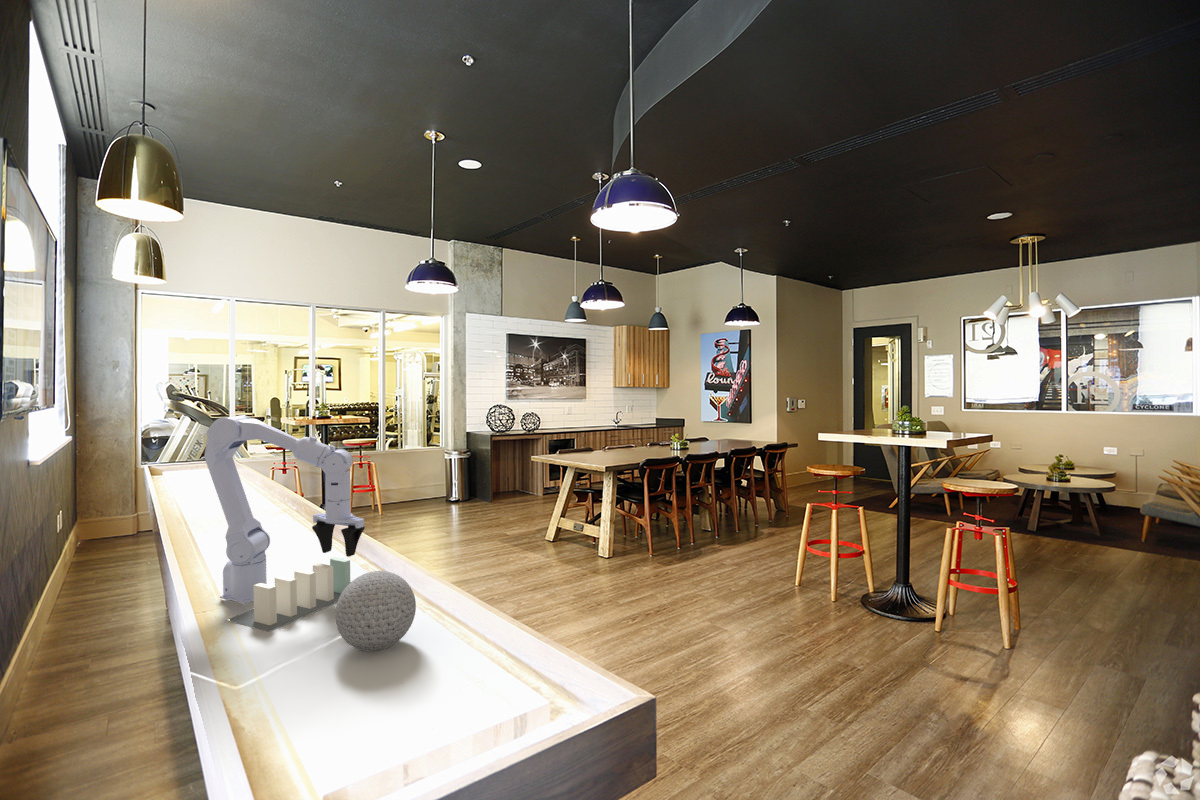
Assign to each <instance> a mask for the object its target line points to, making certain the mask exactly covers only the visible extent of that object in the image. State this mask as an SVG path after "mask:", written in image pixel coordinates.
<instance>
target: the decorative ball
mask: <svg viewBox="0 0 1200 800" xmlns="http://www.w3.org/2000/svg"><path fill="white" fill-rule="evenodd" d="M350 582H351V583H349V584H348V585H347V587H346V588H345V589H344V590H343V592H342V593H341V595H340V597H339V599H338V602H337V603H336V605H335V610H334V614H335V615H334V620H335V626H336V628H337V631H338V633H339V635H340V636H341V638H342V639H343V640H344V641H345V642H346V643H347V644H348V645H349V646H351V647H353V648H355V649H357V650H360V651H367V652H368V651H369V652H375V651H380V650H381V651H382V650H384V649H387V648H390V647H391V646H393V645H395V644H396V643H397V642H399V641H400V640H401V639H403V638H404V636H405V635H406V634H407V632H408V631H409V630H410V628H411V627H412V625H413V622H414V619H415V615H416V608H417V604H416V603H417V602H416V597H415V593H414V592H413V589H412V588H411V585H410V584H409V583H408V582H407V581H406V579H404V578H403V577H401V576H400V575H398V574H397V573H395V572H392V571H387V570H386V571H385V570H373V571H370V572H369V571H368V572H366V573H363V574H361V575H359V576H357V577H356V578H354V579H353V580H352V581H350Z"/></svg>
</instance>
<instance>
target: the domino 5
mask: <svg viewBox="0 0 1200 800" xmlns="http://www.w3.org/2000/svg"><path fill="white" fill-rule="evenodd" d="M329 565H330V566H333V582H334V592H337V593H342V592H343V590H344V589H345V588H346V587H347V585H348V584H349V583H350V582H351V560H350V559H347V558H346V559H344V558H341V557H336V556H335V557H333V558H330V560H329Z"/></svg>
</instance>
